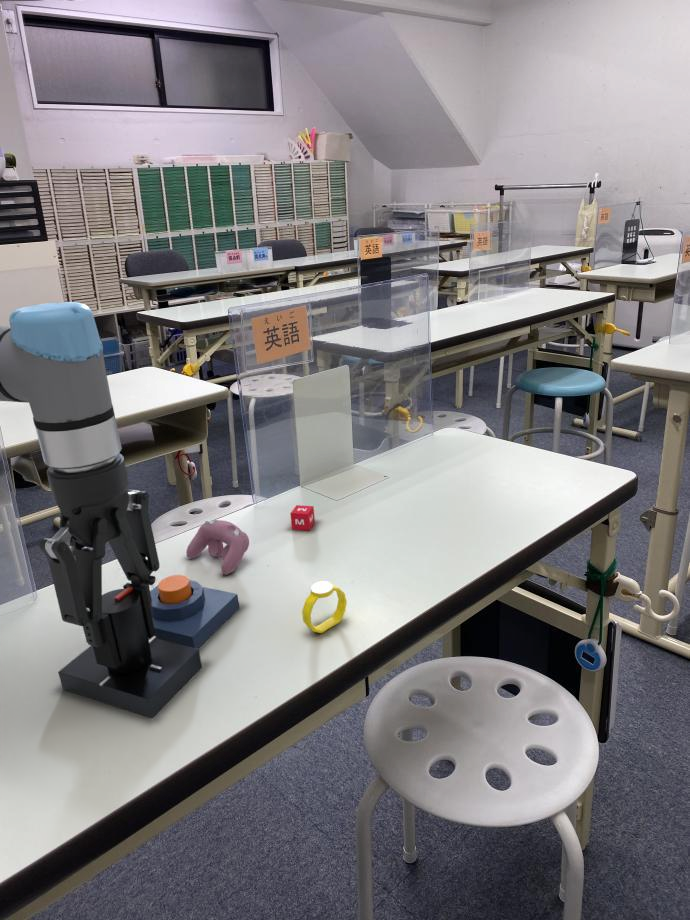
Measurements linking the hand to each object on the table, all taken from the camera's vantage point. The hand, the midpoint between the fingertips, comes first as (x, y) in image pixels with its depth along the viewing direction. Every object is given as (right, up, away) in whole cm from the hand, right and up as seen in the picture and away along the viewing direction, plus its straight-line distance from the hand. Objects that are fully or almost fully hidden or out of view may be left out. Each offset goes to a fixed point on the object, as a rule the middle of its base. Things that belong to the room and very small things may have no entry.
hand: (127, 648), depth 78 cm
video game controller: (+6, +6, +26) cm, 27 cm away
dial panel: (0, -4, +1) cm, 4 cm away
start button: (+3, +4, +11) cm, 12 cm away
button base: (+3, 0, +12) cm, 12 cm away
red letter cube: (+18, +10, +35) cm, 41 cm away
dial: (0, -1, +1) cm, 2 cm away
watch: (+23, 0, +8) cm, 24 cm away
